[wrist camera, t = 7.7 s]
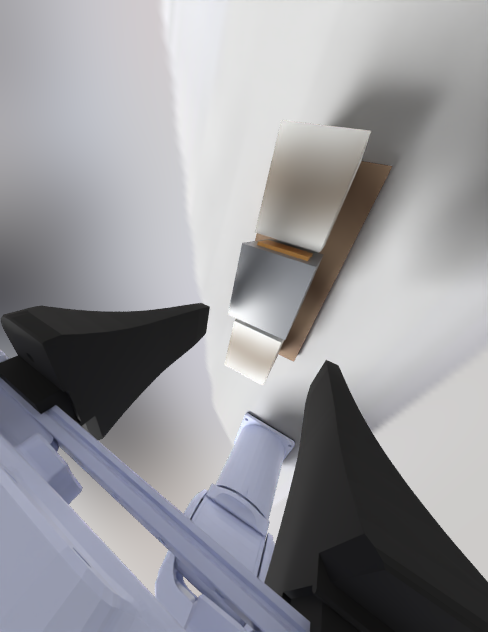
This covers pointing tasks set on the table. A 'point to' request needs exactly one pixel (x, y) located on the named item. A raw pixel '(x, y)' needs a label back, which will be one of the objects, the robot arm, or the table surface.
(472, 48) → the table surface
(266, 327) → the block
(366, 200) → the cream blocky elongated piece
